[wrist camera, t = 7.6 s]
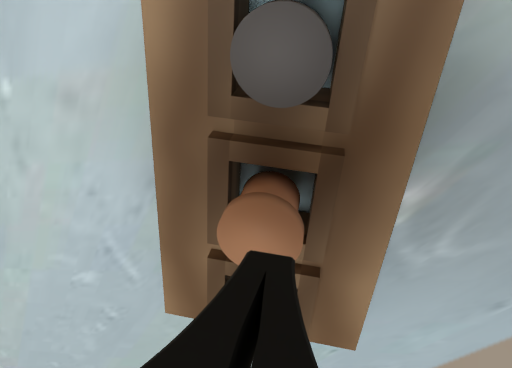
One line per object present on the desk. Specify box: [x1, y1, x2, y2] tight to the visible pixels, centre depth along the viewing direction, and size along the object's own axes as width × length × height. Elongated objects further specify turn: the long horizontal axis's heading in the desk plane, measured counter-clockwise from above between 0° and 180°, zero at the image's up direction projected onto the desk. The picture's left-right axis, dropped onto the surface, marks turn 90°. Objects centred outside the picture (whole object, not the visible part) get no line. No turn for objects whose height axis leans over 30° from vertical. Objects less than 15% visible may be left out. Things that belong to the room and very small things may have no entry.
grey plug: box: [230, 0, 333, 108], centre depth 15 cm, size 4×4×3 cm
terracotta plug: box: [217, 171, 304, 265], centre depth 17 cm, size 4×4×3 cm
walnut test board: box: [141, 0, 464, 350], centre depth 19 cm, size 12×24×3 cm, turn 177°
